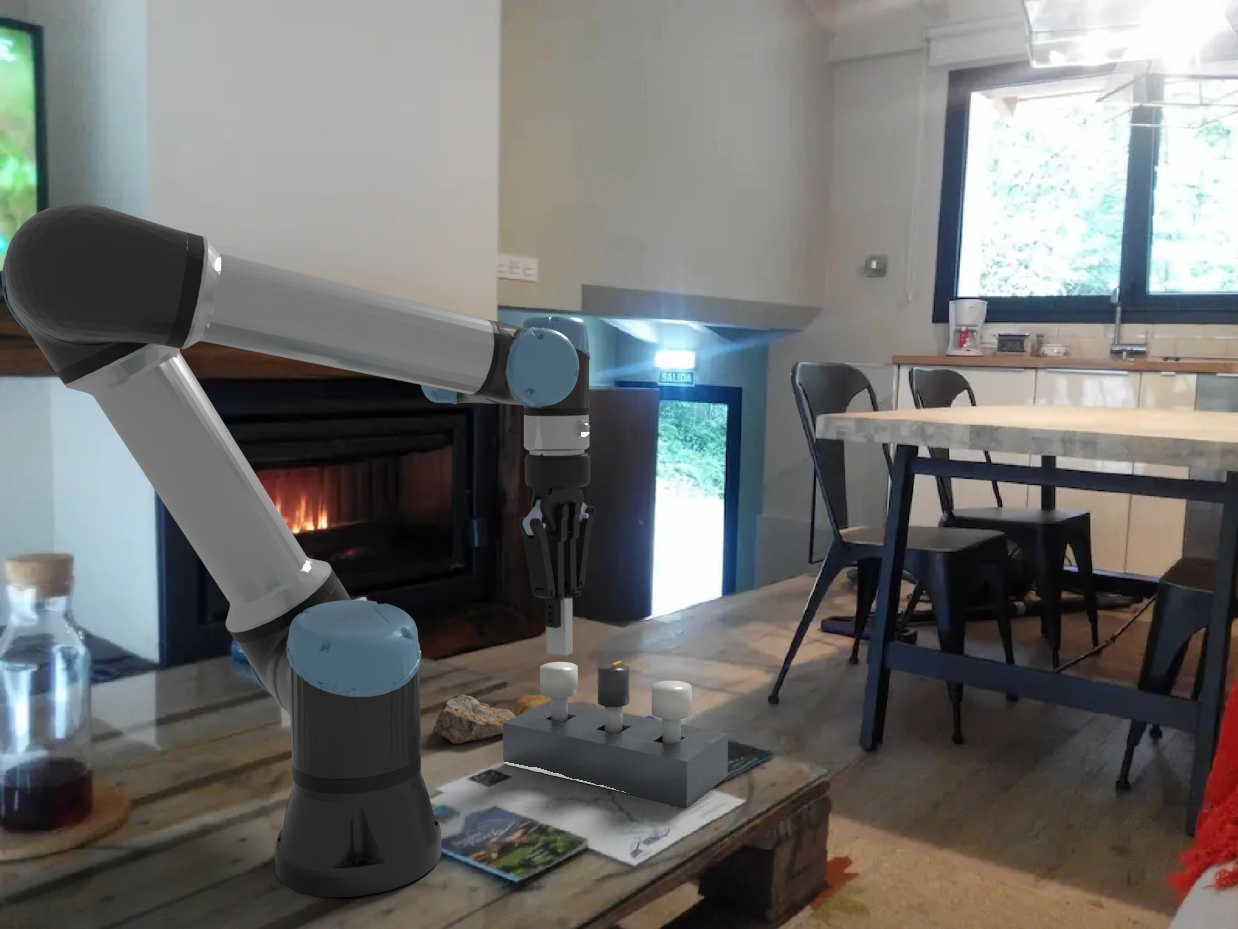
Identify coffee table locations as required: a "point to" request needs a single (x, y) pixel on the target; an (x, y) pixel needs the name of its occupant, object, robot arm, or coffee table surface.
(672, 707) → the plunger near
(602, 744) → the panel
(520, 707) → the pastry
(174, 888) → the coffee table surface
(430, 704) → the coffee table surface
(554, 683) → the plunger far
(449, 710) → the rock
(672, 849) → the coffee table surface
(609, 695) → the pot knob
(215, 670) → the coffee table surface
